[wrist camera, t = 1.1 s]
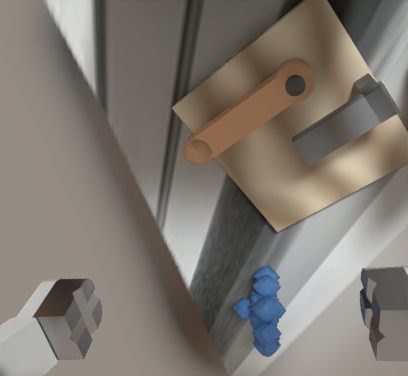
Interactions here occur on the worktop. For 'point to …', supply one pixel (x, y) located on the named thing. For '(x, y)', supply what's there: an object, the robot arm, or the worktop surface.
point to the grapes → (263, 311)
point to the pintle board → (304, 118)
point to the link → (248, 113)
